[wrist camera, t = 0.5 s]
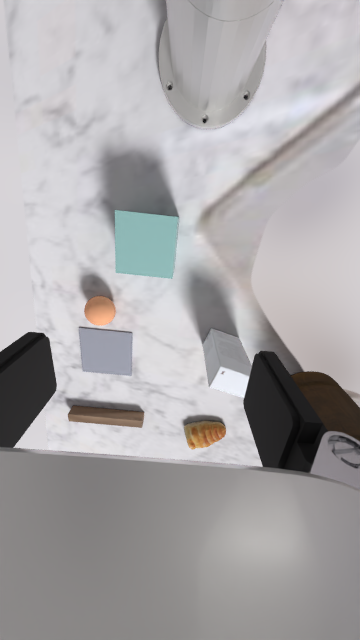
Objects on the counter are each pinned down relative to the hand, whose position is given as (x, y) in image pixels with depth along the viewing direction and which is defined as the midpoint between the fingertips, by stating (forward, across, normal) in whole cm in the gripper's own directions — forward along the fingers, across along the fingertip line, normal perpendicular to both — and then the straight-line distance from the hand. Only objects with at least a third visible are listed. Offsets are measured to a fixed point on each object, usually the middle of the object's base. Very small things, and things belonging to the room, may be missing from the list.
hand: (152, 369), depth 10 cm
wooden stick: (+30, +13, +35) cm, 48 cm away
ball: (+27, +12, +9) cm, 31 cm away
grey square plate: (+30, +12, +19) cm, 37 cm away
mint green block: (+30, +4, -3) cm, 30 cm away
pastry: (+31, -9, +38) cm, 50 cm away
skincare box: (+30, -10, +14) cm, 35 cm away
